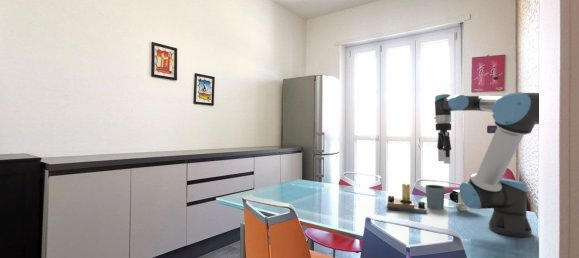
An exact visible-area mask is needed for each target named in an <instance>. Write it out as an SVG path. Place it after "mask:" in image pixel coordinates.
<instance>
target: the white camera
mask: <svg viewBox="0 0 579 258" xmlns="http://www.w3.org/2000/svg"><path fill="white" fill-rule="evenodd" d="M449 199H450V201H452V202H453V203H456V205H455V207H456V210H458V211H460V212H467V211H468V208H469V207H467V206H466V205H465V204H464V203H463V201H462V199H461V196H460V192H459V189H452V190H451V192H449Z"/></svg>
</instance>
